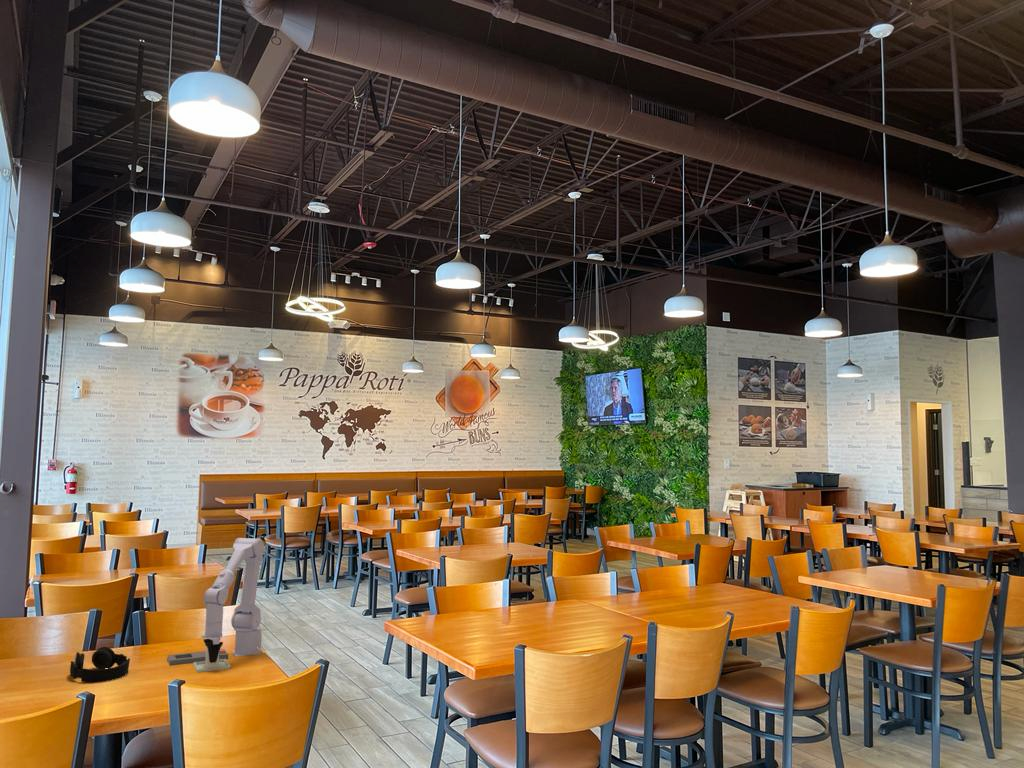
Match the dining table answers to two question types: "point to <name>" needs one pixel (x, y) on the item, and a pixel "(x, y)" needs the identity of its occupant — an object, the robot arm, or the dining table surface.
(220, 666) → the tray
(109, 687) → the dining table surface
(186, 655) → the power strip
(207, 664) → the plug
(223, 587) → the robot arm
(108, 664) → the headphones
